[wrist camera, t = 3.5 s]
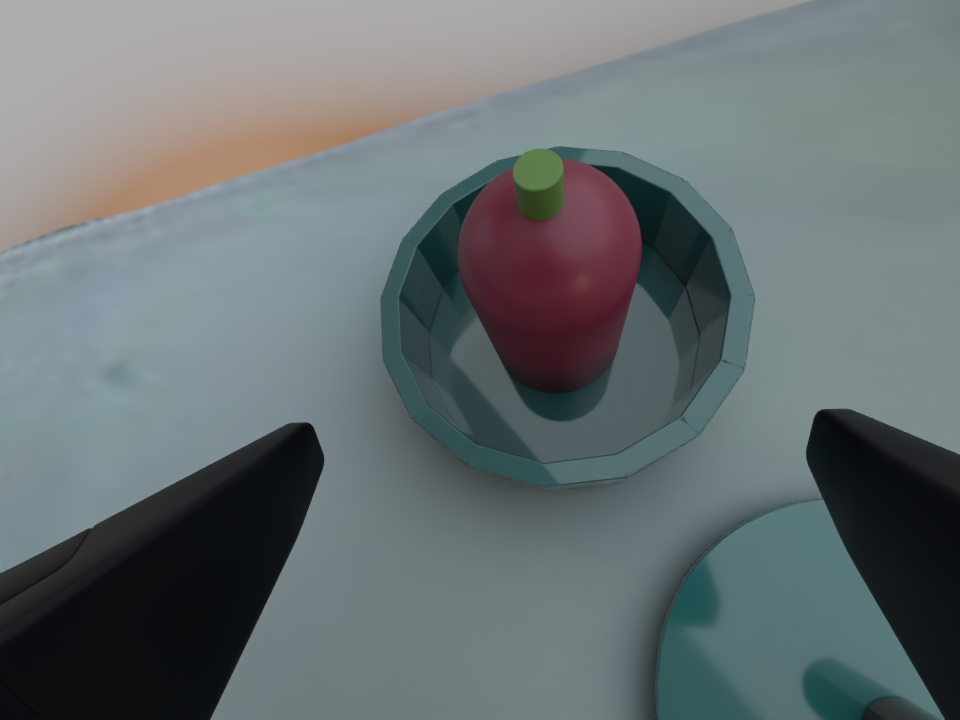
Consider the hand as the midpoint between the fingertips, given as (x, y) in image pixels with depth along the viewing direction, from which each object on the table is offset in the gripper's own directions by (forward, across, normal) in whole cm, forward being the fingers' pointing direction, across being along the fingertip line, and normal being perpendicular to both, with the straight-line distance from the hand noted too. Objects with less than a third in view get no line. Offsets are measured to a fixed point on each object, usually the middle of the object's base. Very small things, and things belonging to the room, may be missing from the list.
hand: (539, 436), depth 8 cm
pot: (+13, 0, +4) cm, 14 cm away
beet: (+12, 0, +4) cm, 13 cm away
